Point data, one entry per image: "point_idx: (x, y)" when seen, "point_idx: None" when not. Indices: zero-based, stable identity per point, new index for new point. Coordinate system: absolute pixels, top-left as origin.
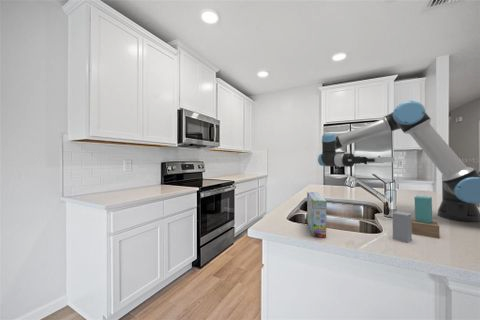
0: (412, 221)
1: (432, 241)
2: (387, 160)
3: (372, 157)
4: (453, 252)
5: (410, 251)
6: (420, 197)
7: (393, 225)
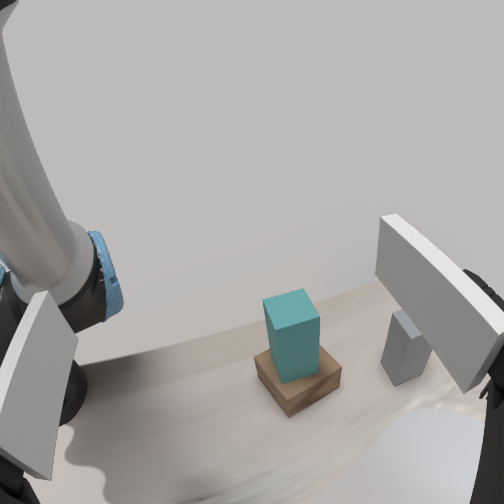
0: (330, 372)
1: (343, 344)
2: (52, 374)
3: (469, 278)
4: (363, 307)
5: None
6: (308, 306)
7: (430, 350)
